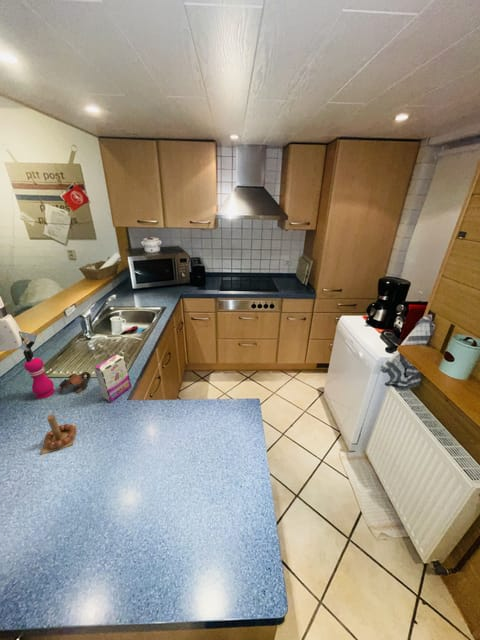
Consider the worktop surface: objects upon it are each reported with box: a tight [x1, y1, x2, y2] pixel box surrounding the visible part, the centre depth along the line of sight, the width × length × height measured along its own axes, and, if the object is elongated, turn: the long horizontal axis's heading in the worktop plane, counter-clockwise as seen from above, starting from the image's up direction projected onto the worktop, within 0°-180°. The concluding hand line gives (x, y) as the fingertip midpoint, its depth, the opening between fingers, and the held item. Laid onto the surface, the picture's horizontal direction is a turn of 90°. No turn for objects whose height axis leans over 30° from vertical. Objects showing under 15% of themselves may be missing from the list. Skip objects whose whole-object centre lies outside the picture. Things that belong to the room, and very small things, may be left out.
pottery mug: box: [58, 371, 92, 394], centre depth 111 cm, size 12×10×8 cm
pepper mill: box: [23, 355, 55, 400], centre depth 103 cm, size 7×7×20 cm
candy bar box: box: [93, 354, 132, 403], centre depth 106 cm, size 11×5×16 cm, turn 154°
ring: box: [43, 423, 77, 449], centre depth 86 cm, size 9×9×2 cm
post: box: [39, 414, 77, 456], centre depth 84 cm, size 9×9×12 cm
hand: (11, 363), depth 80 cm, fingers open, 9 cm apart
